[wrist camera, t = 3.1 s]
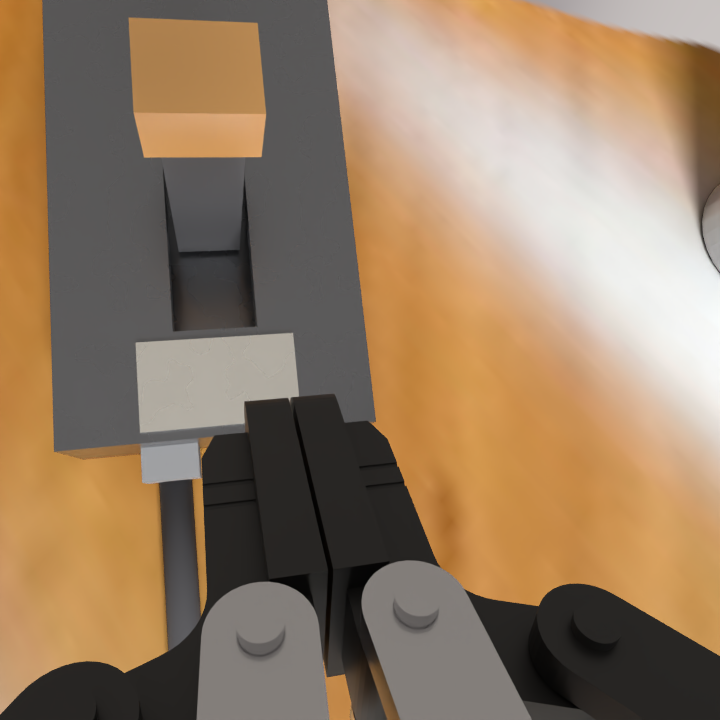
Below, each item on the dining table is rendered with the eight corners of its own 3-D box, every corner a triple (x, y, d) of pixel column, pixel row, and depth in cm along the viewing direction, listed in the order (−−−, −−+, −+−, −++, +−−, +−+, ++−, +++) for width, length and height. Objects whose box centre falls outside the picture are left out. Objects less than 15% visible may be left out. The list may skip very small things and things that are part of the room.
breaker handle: (163, 193, 35) (128, 17, 22) (245, 191, 36) (257, 22, 23) (167, 255, 35) (133, 112, 22) (250, 252, 36) (266, 114, 23)
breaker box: (69, 40, 38) (40, -45, 32) (309, 48, 41) (324, -28, 35) (83, 459, 33) (53, 451, 27) (351, 433, 36) (376, 421, 30)
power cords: (149, 453, 34) (140, 448, 30) (294, 438, 36) (302, 432, 32) (163, 735, 31) (156, 765, 28) (319, 706, 33) (330, 731, 30)
